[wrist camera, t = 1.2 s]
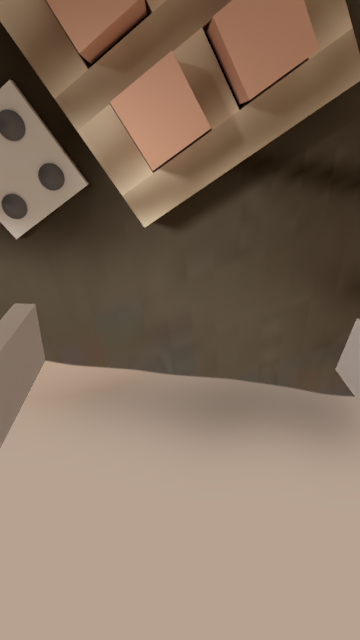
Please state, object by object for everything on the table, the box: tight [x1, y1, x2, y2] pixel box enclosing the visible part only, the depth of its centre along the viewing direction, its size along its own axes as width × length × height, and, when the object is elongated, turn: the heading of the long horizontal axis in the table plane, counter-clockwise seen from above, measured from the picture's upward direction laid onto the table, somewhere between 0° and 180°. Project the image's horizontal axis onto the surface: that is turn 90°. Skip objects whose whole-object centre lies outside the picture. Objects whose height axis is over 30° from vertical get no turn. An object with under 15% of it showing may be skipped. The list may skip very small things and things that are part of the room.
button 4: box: [207, 0, 319, 105], centre depth 21 cm, size 5×5×4 cm
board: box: [0, 0, 360, 228], centre depth 23 cm, size 20×20×3 cm
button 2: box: [110, 51, 211, 171], centre depth 23 cm, size 5×5×4 cm
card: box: [0, 80, 89, 239], centre depth 28 cm, size 9×9×1 cm
